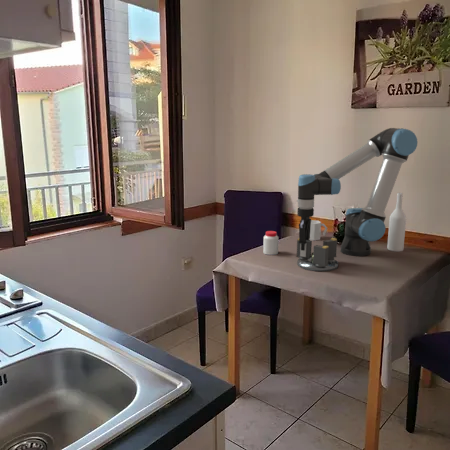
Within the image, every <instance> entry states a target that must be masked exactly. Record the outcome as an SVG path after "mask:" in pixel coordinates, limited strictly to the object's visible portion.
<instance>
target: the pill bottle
mask: <svg viewBox="0 0 450 450" xmlns="http://www.w3.org/2000/svg"><path fill="white" fill-rule="evenodd" d="M279 238H280V237H279V236H278V234H277V231H274V230H267V231H265V235H264V236H263V238H262V239H263V244H262V245H263V247H262V249H263V250H262V251H263V252H262V253H263V254H264V255H267V256H274V255H278V254H279Z"/></svg>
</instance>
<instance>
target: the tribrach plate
mask: <svg viewBox="0 0 450 450" xmlns="http://www.w3.org/2000/svg"><path fill="white" fill-rule="evenodd" d="M297 266H298V268H301V269H303V270H306V271H311V272H330V271H334V270H337V269H338V268H339V261H338V260H336V259H335V258H334V260H328V265H327V266H325V267H322V268H320V267H316V266H315V264H314V263H313V252H312V251H311V258H310V259H308V260H300V259H299V258H297Z"/></svg>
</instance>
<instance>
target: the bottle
mask: <svg viewBox="0 0 450 450" xmlns="http://www.w3.org/2000/svg"><path fill="white" fill-rule="evenodd" d="M403 194H404V193H403V192H397V194H396V204H395V208H394V209H393V211H392V212H391V214H390V215H389V218H388V219H389V220H388V221H389V223H388V234H387V235H388V236H387V243H386V244H387V246H386V247H387V250H389V251H391V252H403V251H404V246H405V235H406V225H407V216H406V213H405V211H404V210H403Z"/></svg>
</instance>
